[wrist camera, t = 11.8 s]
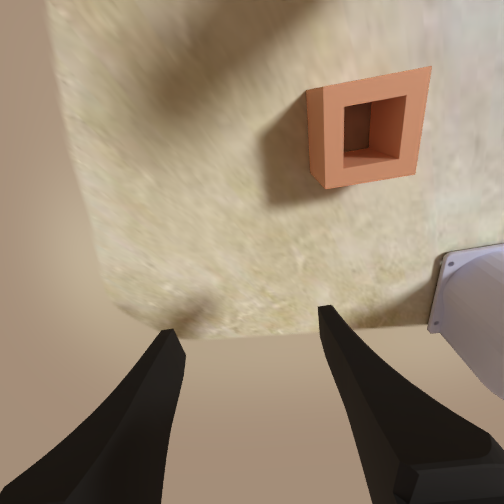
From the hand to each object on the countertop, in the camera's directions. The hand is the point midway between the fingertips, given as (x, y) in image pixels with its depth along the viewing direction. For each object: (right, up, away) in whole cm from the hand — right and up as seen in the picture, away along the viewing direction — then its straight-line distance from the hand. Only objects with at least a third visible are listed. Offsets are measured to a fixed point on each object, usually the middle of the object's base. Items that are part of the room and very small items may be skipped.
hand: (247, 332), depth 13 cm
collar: (+6, +12, +4) cm, 14 cm away
